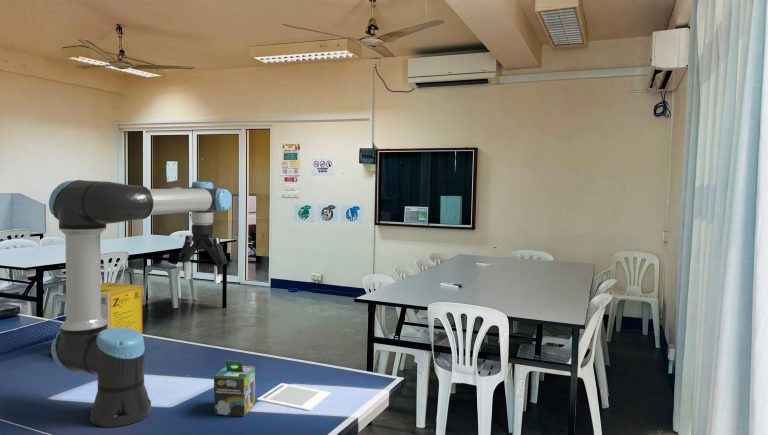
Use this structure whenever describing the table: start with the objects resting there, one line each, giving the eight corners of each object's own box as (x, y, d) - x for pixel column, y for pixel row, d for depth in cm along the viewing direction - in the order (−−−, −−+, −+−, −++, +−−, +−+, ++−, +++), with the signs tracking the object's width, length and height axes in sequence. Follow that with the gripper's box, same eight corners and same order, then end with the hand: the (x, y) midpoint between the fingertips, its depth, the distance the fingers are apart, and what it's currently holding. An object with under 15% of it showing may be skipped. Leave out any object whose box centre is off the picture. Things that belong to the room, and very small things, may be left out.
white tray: (309, 410, 155) (309, 409, 155) (256, 400, 161) (256, 398, 161) (331, 393, 168) (331, 392, 168) (281, 383, 174) (281, 382, 174)
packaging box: (72, 359, 192) (71, 290, 190) (107, 345, 207) (107, 282, 205) (108, 364, 187) (108, 294, 185) (142, 350, 202) (142, 285, 201)
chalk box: (255, 404, 159) (256, 355, 157) (244, 417, 149) (245, 365, 148) (225, 401, 159) (226, 353, 158) (212, 415, 150) (213, 363, 149)
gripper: (237, 225, 195) (236, 282, 196) (182, 221, 204) (182, 276, 205) (224, 226, 188) (223, 286, 189) (168, 222, 197) (168, 279, 198)
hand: (202, 281), depth 197 cm, fingers open, 13 cm apart
